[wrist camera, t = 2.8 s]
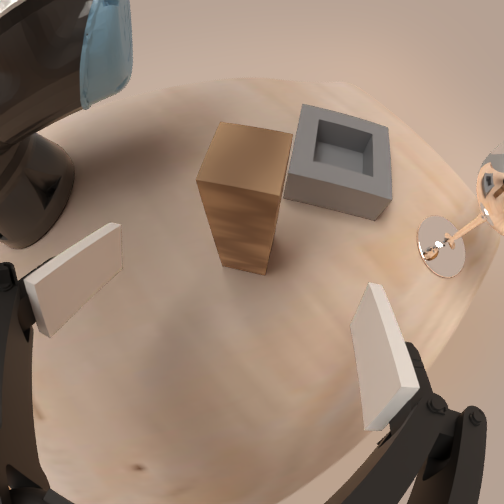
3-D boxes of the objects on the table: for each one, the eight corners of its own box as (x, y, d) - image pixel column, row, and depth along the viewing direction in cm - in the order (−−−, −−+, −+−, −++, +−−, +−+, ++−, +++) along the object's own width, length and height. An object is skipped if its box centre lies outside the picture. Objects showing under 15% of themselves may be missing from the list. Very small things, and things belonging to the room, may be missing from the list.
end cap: (283, 198, 29) (288, 172, 24) (297, 130, 32) (302, 103, 28) (374, 220, 28) (392, 199, 24) (375, 151, 31) (387, 127, 27)
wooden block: (222, 265, 26) (195, 179, 13) (233, 227, 28) (220, 121, 14) (265, 275, 26) (279, 195, 13) (273, 235, 27) (293, 134, 14)
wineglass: (449, 293, 25) (594, 218, 6) (404, 245, 27) (534, 123, 8) (472, 246, 27) (584, 162, 8) (431, 203, 29) (530, 91, 10)
